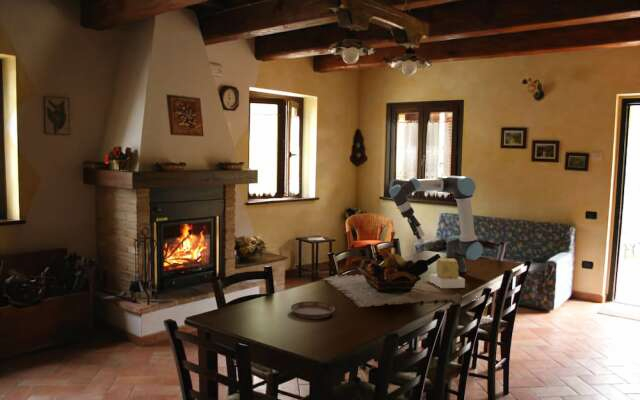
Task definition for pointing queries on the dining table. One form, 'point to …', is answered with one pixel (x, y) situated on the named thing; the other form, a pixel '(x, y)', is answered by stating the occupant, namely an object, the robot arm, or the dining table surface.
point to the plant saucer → (312, 309)
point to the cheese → (447, 268)
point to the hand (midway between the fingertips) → (422, 239)
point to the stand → (447, 281)
